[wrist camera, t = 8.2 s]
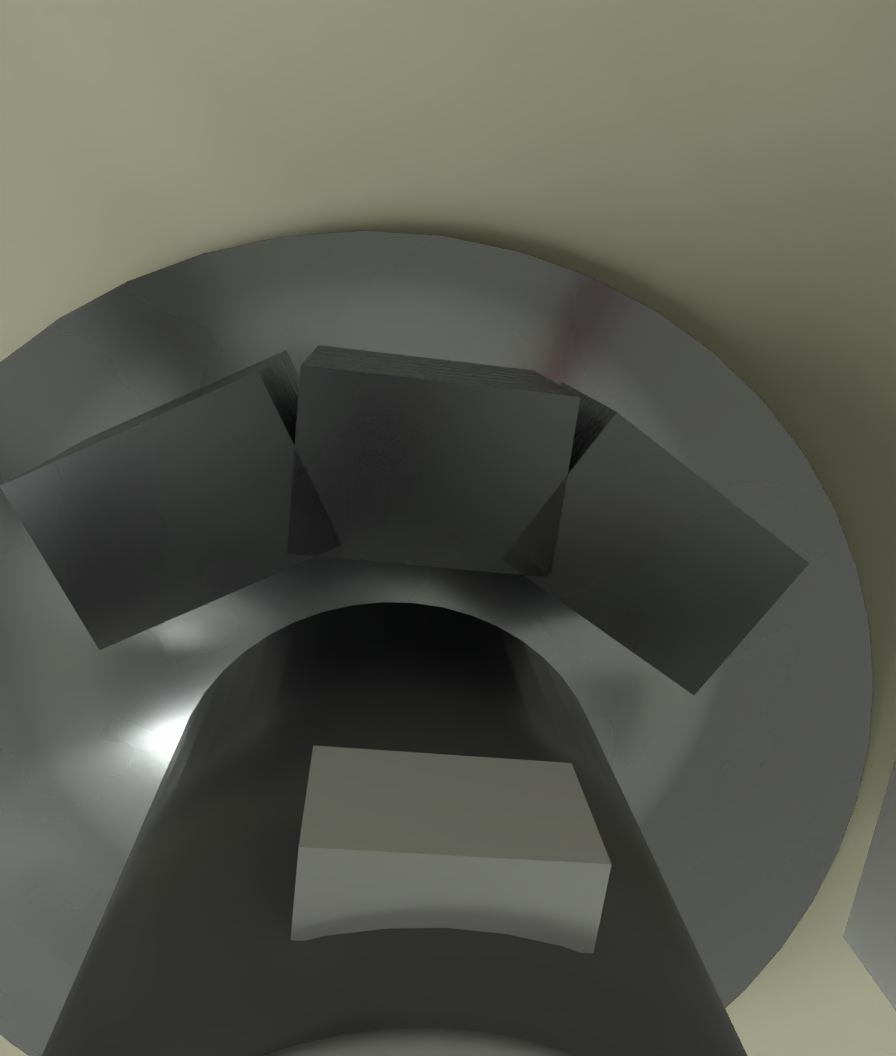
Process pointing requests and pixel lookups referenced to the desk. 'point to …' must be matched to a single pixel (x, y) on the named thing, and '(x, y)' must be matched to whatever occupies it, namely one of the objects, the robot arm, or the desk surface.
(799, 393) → the desk surface
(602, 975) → the dark grey short cylinder
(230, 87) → the desk surface
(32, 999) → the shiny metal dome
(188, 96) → the desk surface
